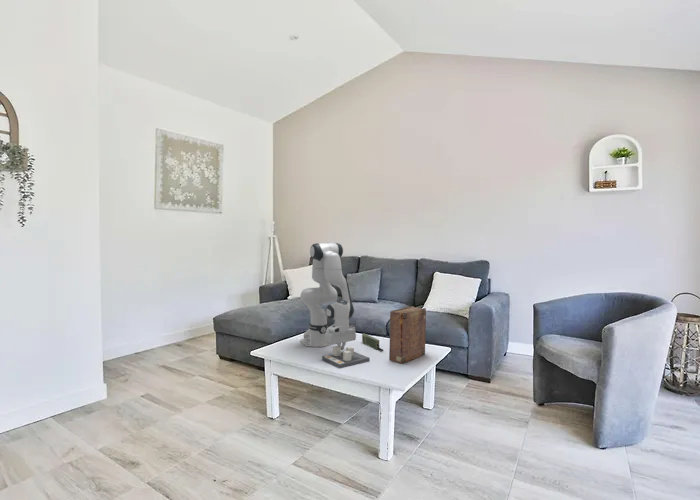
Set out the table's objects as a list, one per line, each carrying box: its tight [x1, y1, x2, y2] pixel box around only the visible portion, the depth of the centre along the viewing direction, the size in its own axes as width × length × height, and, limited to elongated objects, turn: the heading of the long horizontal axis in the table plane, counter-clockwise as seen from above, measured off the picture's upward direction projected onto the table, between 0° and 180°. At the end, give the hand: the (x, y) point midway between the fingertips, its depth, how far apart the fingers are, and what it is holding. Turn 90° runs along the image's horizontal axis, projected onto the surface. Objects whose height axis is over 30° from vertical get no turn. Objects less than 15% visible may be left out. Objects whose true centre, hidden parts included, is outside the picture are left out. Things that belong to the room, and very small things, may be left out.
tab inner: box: [332, 345, 342, 356], centre depth 234 cm, size 3×4×5 cm
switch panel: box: [321, 351, 370, 369], centre depth 232 cm, size 18×22×2 cm
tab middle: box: [345, 346, 355, 357], centre depth 233 cm, size 3×4×5 cm
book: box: [388, 305, 427, 365], centre depth 239 cm, size 25×9×30 cm, turn 137°
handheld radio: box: [361, 332, 384, 352], centre depth 261 cm, size 7×3×25 cm
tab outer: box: [342, 350, 351, 361], centre depth 225 cm, size 3×4×5 cm
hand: (341, 349), depth 236 cm, fingers closed
